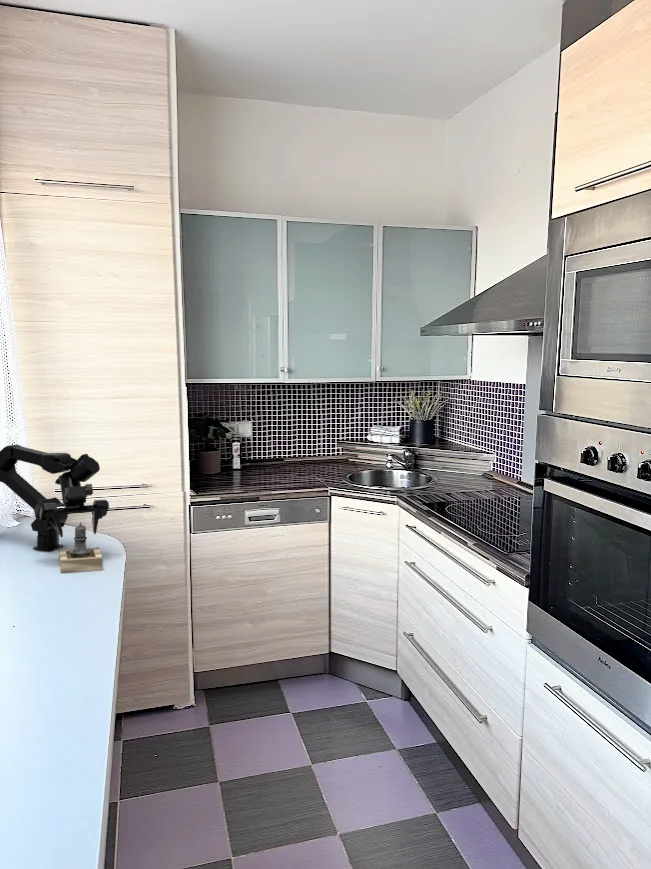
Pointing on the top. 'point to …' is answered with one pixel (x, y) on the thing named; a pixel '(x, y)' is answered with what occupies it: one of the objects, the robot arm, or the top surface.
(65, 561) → the shaker caddy
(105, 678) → the top surface
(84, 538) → the weathered stone finial
